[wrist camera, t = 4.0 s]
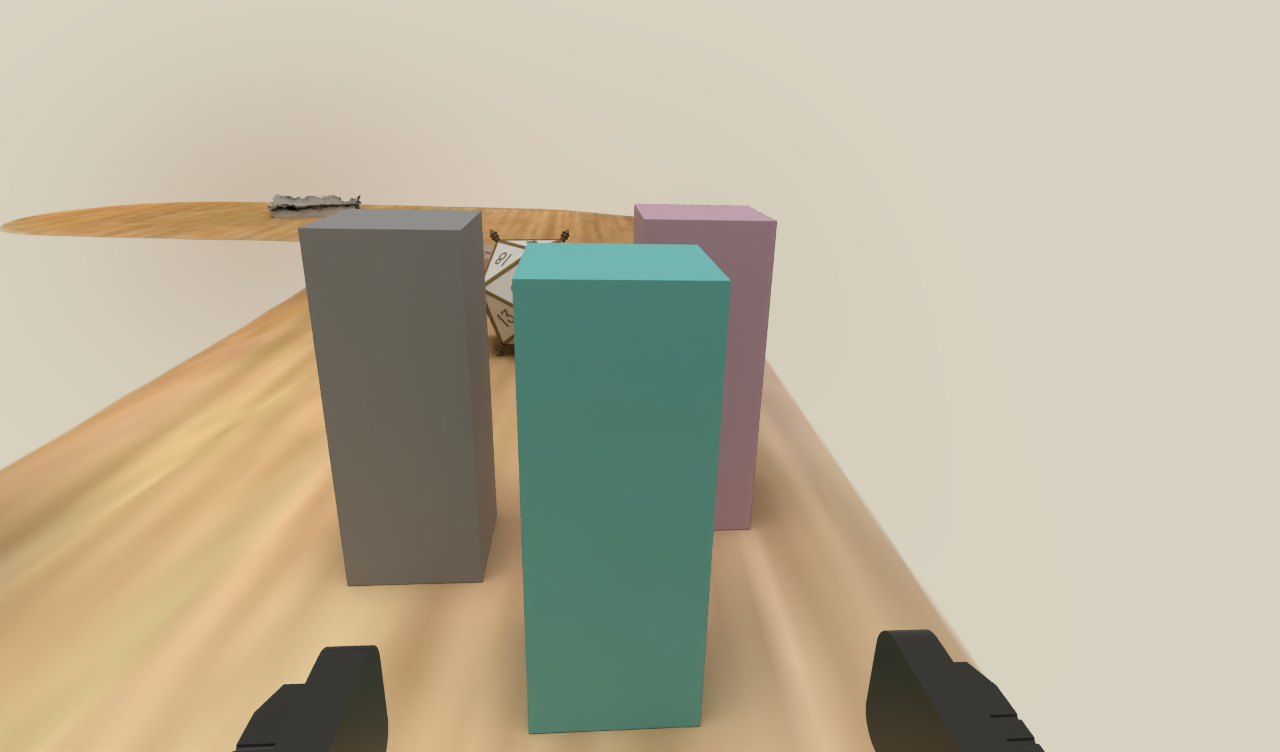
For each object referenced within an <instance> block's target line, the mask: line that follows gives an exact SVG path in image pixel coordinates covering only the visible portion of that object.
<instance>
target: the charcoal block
mask: <svg viewBox="0 0 1280 752" xmlns="http://www.w3.org/2000/svg"><path fill="white" fill-rule="evenodd" d="M298 232H299V239H300V245H301V253H302V260H303V266H304V267H303V268H304V274H305V282H306V289H307V296H308V304H309V311H310V318H311V325H312V332H313V340H314V347H315V354H316V361H317V368H318V376H319V383H320V390H321V397H322V404H323V412H324V419H325V426H326V433H327V440H328V448H329V455H330V462H331V469H332V476H333V484H334V491H335V498H336V505H337V512H338V520H339V527H340V534H341V541H342V548H343V556H344V563H345V570H346V577H347V584H348V586H355V585H392V584H428V583H465V582H482V581H483V576H484V572H485V567H486V562H487V557H488V553H489V548H490V543H491V539H492V534H493V529H494V524H495V520H496V515H497V508H496V488H495V468H494V449H493V429H492V410H491V390H490V371H489V351H488V331H487V312H486V292H485V273H484V253H483V233H482V214H481V211H452V210H386V209H346V210H343V211H341V212H338V213H336V214H333V215H331V216H328V217H325V218H323V219H320V220H318V221H315V222H312V223H310V224H307V225H305V226H302V227H300V228H298Z"/></svg>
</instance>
